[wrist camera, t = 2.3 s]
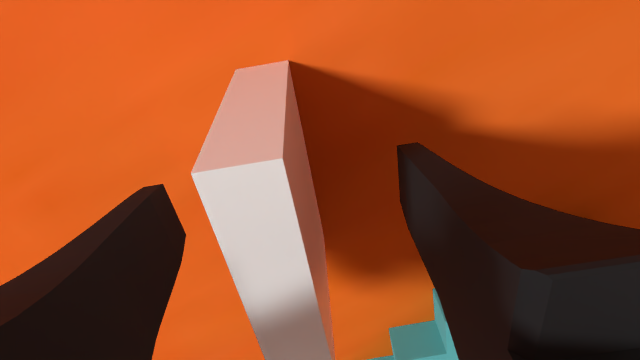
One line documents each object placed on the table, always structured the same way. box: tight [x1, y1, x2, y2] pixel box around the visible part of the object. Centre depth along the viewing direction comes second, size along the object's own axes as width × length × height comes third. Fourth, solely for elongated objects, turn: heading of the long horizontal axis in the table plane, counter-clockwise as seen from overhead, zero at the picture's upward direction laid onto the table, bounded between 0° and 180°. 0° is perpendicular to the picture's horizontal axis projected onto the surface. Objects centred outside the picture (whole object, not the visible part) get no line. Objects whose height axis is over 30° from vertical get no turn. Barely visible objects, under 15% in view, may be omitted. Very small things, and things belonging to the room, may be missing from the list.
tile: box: [191, 60, 335, 360], centre depth 11 cm, size 2×7×6 cm, turn 9°
